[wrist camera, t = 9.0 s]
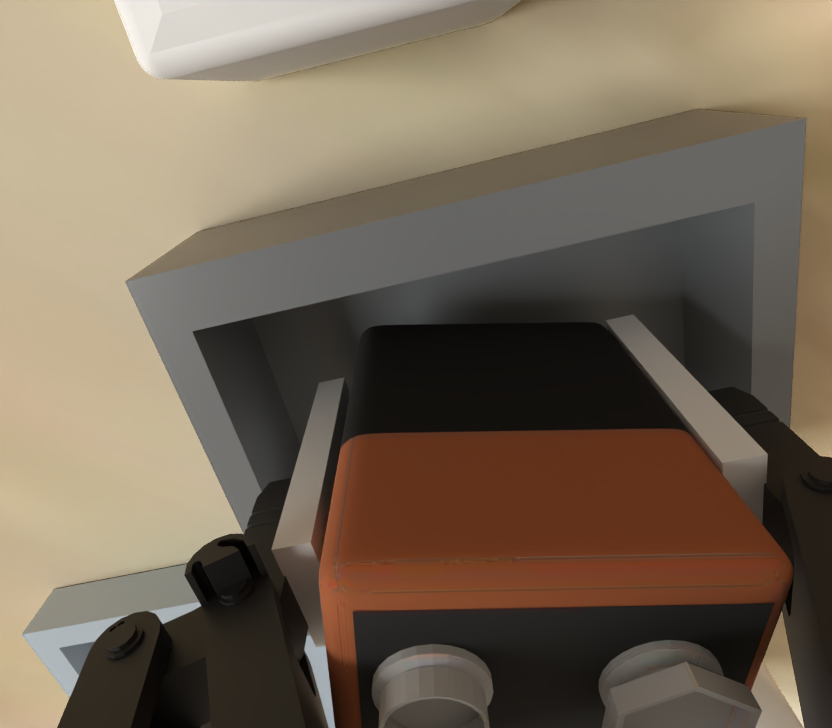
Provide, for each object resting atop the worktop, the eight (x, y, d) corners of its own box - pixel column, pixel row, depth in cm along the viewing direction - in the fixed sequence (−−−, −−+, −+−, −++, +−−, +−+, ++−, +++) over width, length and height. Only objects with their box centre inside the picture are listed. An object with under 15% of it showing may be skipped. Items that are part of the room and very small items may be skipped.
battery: (587, 447, 18) (770, 821, 9) (366, 451, 18) (327, 830, 9) (607, 315, 16) (866, 622, 7) (359, 319, 16) (299, 632, 7)
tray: (53, 589, 24) (21, 634, 22) (331, 536, 23) (324, 579, 21) (179, 771, 30) (162, 820, 28) (408, 735, 28) (408, 784, 26)
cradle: (197, 231, 18) (125, 281, 13) (697, 109, 16) (806, 117, 12) (319, 538, 23) (297, 648, 19) (704, 465, 22) (782, 565, 17)
